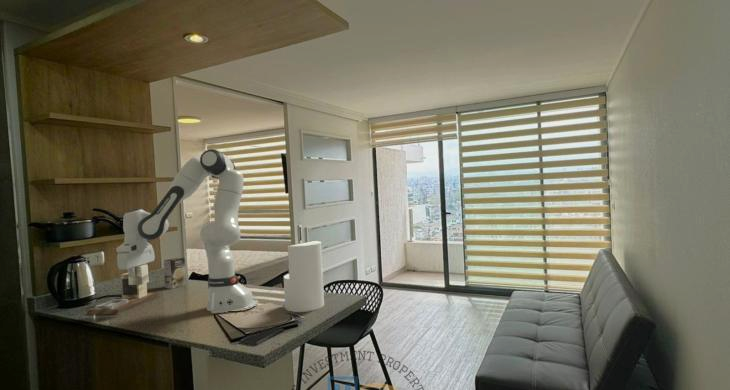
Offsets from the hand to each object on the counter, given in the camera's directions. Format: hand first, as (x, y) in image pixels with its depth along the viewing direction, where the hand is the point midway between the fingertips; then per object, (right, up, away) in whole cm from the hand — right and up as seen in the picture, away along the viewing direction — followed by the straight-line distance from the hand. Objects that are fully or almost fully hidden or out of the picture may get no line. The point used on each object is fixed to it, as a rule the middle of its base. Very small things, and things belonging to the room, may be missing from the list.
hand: (138, 275), depth 174 cm
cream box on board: (-13, -17, +12) cm, 25 cm away
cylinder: (+76, -13, -3) cm, 78 cm away
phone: (+67, -14, -39) cm, 79 cm away
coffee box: (-6, -16, +46) cm, 49 cm away
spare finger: (0, -4, 0) cm, 4 cm away
